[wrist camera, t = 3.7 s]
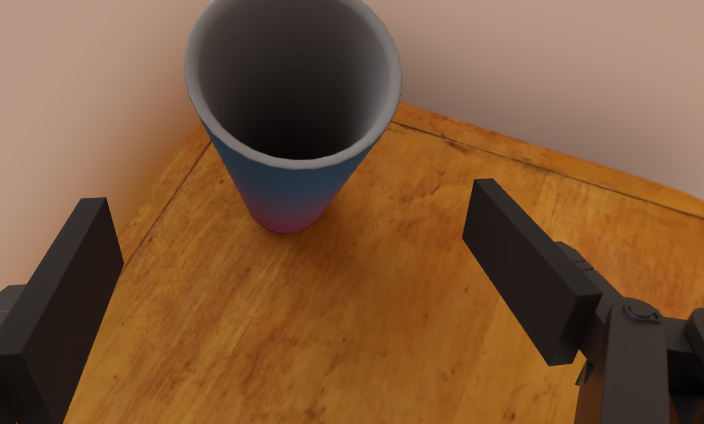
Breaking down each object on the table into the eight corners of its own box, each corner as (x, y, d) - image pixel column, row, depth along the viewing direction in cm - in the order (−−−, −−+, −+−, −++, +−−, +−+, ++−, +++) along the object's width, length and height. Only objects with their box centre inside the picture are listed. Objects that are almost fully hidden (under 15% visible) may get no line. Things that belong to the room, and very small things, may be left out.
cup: (355, 225, 29) (435, 130, 14) (252, 264, 27) (227, 201, 13) (316, 131, 30) (355, -46, 16) (215, 163, 28) (153, -1, 14)
